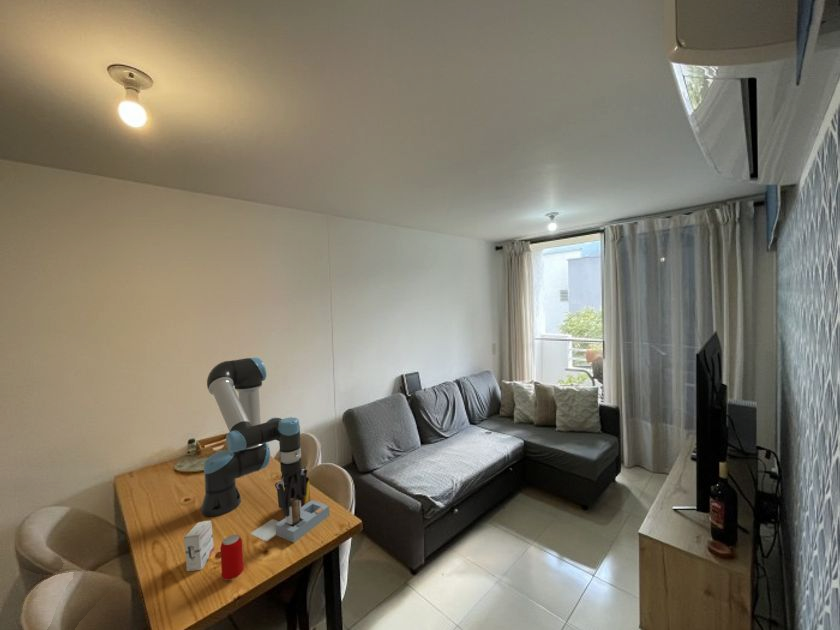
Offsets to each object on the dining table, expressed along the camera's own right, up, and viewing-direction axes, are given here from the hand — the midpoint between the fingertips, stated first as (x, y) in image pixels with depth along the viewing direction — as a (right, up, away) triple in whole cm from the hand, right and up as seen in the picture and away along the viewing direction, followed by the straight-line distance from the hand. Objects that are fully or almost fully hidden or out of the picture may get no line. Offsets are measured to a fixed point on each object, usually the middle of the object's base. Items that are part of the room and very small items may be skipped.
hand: (294, 519), depth 129 cm
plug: (0, -5, 0) cm, 4 cm away
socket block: (+2, -5, +4) cm, 7 cm away
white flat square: (-10, -6, +2) cm, 12 cm away
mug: (-3, -6, +15) cm, 16 cm away
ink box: (-28, -7, -12) cm, 31 cm away
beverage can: (-13, -7, -19) cm, 24 cm away
